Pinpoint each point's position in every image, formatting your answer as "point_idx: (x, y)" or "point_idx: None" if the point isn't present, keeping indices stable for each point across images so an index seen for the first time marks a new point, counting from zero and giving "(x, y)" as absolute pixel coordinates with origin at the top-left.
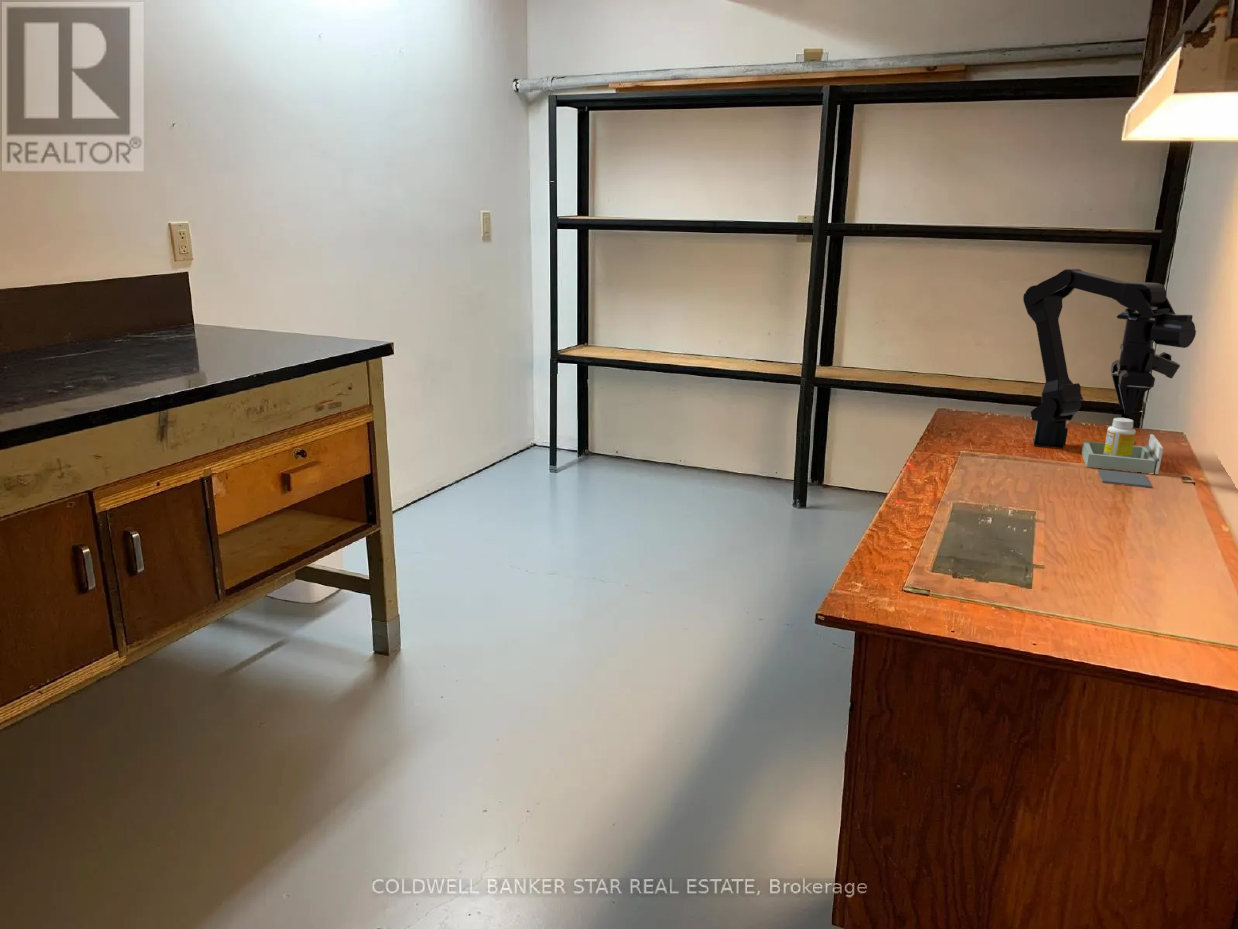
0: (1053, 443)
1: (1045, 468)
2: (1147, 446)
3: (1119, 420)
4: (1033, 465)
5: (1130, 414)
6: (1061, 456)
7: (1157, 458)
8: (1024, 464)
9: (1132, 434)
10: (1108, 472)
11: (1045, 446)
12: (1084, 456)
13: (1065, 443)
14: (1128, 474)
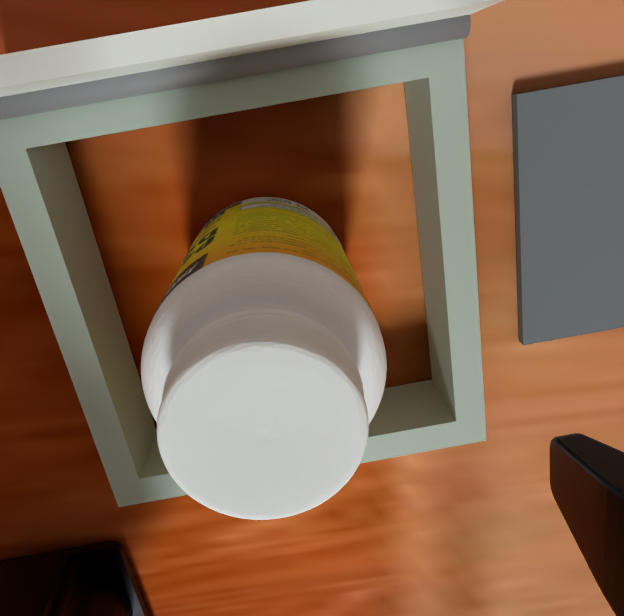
0: (116, 598)
1: (573, 538)
2: (34, 109)
3: (339, 467)
4: (541, 582)
5: (589, 444)
6: (289, 519)
7: (469, 18)
8: (541, 611)
9: (337, 274)
10: (565, 292)
11: (145, 608)
12: None
13: (60, 554)
14: (565, 189)
